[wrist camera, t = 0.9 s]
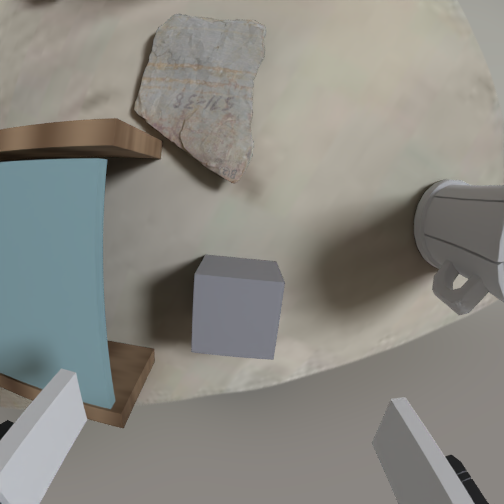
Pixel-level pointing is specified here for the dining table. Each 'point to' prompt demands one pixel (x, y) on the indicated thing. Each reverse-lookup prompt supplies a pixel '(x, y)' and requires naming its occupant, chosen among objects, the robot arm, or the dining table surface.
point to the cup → (463, 240)
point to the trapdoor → (54, 274)
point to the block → (236, 307)
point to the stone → (204, 89)
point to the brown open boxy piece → (89, 145)
